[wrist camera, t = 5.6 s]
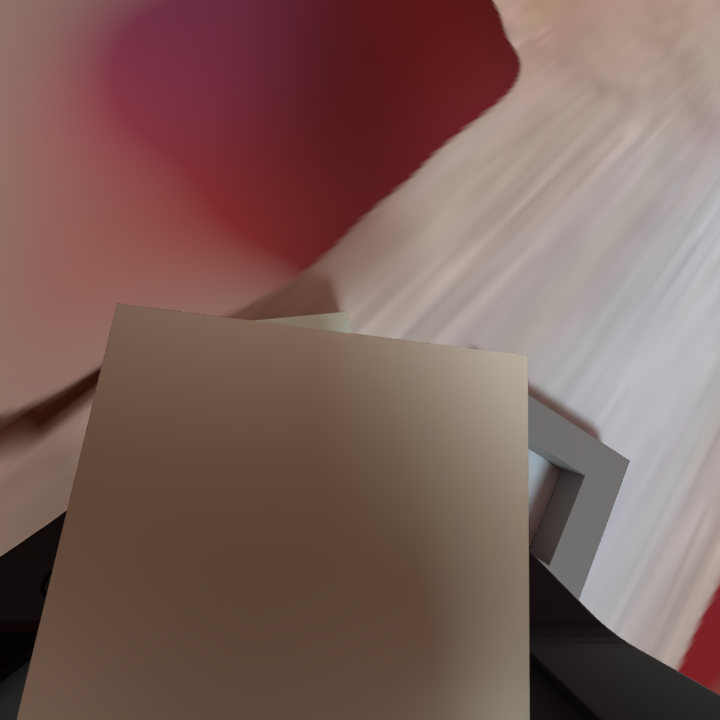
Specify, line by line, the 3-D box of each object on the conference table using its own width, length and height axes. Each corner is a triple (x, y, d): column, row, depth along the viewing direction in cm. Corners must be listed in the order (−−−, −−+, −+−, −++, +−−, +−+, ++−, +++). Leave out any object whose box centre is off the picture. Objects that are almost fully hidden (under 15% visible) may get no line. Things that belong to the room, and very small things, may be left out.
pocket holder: (545, 610, 22) (567, 629, 20) (401, 522, 21) (410, 533, 19) (604, 456, 25) (629, 460, 23) (478, 374, 24) (493, 371, 22)
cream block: (351, 490, 16) (531, 826, 3) (258, 484, 15) (-23, 879, 2) (360, 399, 16) (527, 355, 4) (272, 390, 16) (116, 302, 3)
